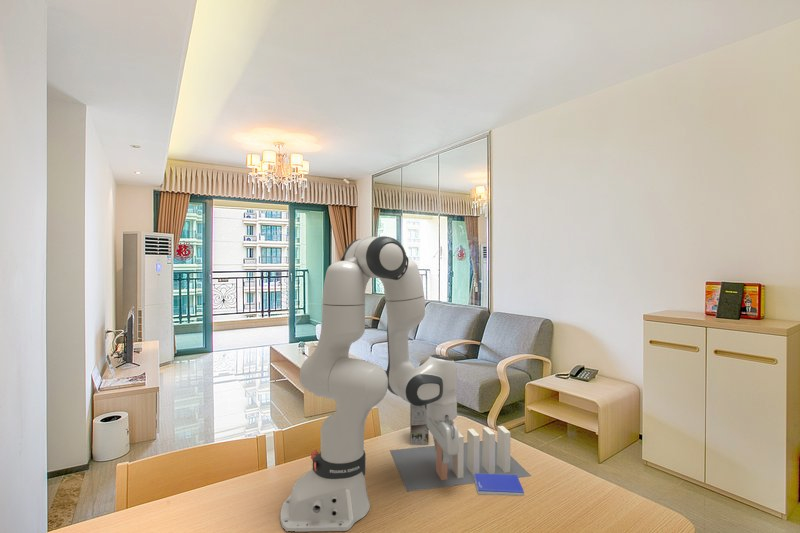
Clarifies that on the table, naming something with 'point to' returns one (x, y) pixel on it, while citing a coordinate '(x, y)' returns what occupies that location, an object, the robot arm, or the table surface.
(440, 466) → the tile
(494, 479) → the hard drive
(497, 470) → the mat
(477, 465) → the domino
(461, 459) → the domino
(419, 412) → the coffee box
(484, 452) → the domino
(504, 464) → the domino
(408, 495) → the table surface
